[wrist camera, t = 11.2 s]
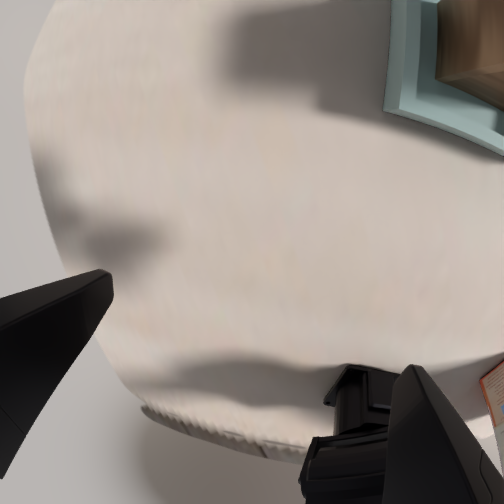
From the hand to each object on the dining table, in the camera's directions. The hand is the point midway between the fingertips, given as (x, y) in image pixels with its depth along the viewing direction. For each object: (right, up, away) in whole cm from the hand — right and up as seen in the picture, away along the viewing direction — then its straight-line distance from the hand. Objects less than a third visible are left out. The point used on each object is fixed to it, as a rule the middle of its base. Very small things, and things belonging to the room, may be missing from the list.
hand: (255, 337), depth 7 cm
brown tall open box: (+14, +15, +3) cm, 21 cm away
